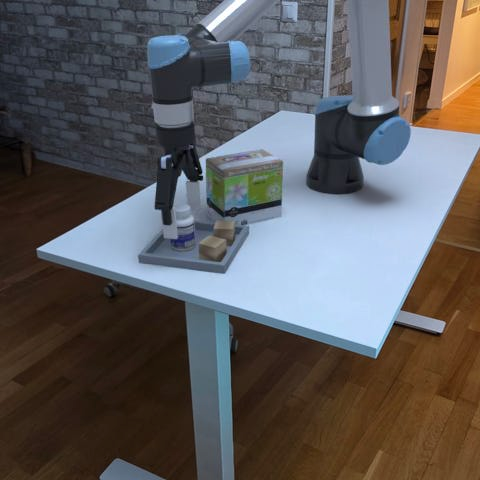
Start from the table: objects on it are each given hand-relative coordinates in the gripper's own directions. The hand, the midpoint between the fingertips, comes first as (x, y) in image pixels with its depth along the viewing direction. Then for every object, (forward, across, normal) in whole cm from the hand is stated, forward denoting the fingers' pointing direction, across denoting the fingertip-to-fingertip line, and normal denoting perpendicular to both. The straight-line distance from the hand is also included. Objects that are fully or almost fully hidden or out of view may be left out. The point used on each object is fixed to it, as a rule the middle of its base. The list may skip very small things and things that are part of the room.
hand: (183, 223), depth 117 cm
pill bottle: (+5, 0, 0) cm, 5 cm away
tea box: (+6, -18, +8) cm, 20 cm away
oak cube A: (+5, -4, +8) cm, 10 cm away
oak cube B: (+5, +4, +8) cm, 10 cm away
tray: (+6, 0, +3) cm, 6 cm away
